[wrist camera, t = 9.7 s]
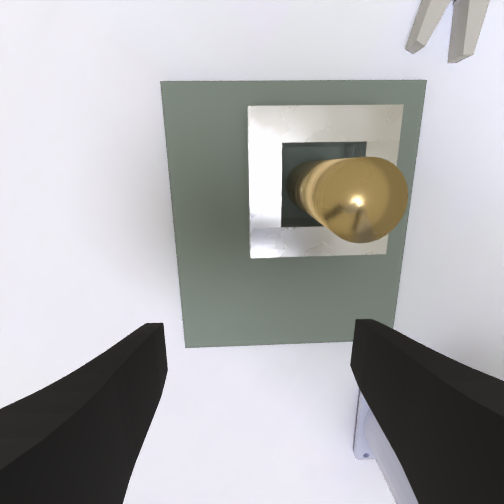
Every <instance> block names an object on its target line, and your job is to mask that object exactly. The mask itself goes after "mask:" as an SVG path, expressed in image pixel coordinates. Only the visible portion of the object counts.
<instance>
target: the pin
mask: <svg viewBox="0 0 504 504" xmlns="http://www.w3.org/2000/svg"><path fill="white" fill-rule="evenodd" d="M286 191H287V194H288V197H289V198H290V200H291V201H292V202H293V203H294V204H295V205H297V206H298V207H299V208H301V209H302V210H303V211H305V212H306V213H307V214H309V215H310V216H311V217H313V218H314V219H315V220H317V221H318V222H319V223H321V224H322V225H323V226H325V227H326V228H327V229H329V230H330V231H331V232H333V233H334V234H335V235H337V236H338V237H340V238H341V239H343V240H346V241H348V242H352V243H369V242H373V241H376V240H378V239H380V238H382V237H384V236H385V235H387V234H388V233H390V232H391V231H392V230H393V229H394V228H395V227H396V226H397V225H398V223H399V222H400V220H401V219H402V217H403V215H404V213H405V210H406V207H407V203H408V187H407V183H406V180H405V177H404V176H403V174H402V172H401V171H400V170H399V169H398V167H396V166H395V165H394V164H393V163H391V162H390V161H388V160H386V159H383V158H379V157H357V158H344V159H331V160H318V161H306V162H302V163H300V164H298V165H297V166H295V167H294V168H293V169H292V170H291V172H290V173H289V175H288V177H287V181H286Z"/></svg>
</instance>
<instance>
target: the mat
mask: <svg viewBox="0 0 504 504" xmlns="http://www.w3.org/2000/svg"><path fill="white" fill-rule="evenodd" d="M160 83H161V94H162V104H163V115H164V126H165V136H166V147H167V158H168V168H169V179H170V189H171V200H172V211H173V221H174V232H175V243H176V253H177V264H178V275H179V285H180V296H181V306H182V317H183V328H184V338H185V348H199V347H224V346H249V345H275V344H300V343H325V342H351V341H353V338H354V329H355V320H356V319H373V320H376V321H378V322H380V323H382V324H384V325H386V326H388V327H390V328H392V329H393V326H394V318H395V311H396V304H397V296H398V289H399V282H400V274H401V267H402V259H403V252H404V245H405V237H406V230H407V223H408V215H409V208H410V201H411V193H412V186H413V178H414V171H415V164H416V156H417V149H418V142H419V134H420V127H421V120H422V112H423V105H424V98H425V90H426V83H427V80H319V81H160ZM399 104H404V107H403V115H402V124H401V132H400V141H399V149H398V157H397V166H396V167H398V169H399V170H400V171H401V172H402V174H403V176H404V177H405V180H406V183H407V187H408V203H407V207H406V210H405V213H404V215H403V217H402V219H401V220H400V222H399V223H398V225H397V226H396V227H395V228H394V229H393V230H392V231H391V232H390V233H388V242H387V250H386V254H376V255H341V256H305V257H270V258H251V257H250V249H249V222H248V173H247V124H246V117H247V108H248V106H287V105H399ZM344 155H345V147H294V148H282V189H281V218H313V217H311V216H310V215H309V214H307V213H306V212H305V211H303V210H302V209H301V208H299V207H298V206H297V205H295V204H294V203H293V202H292V201H291V200H290V198H289V197H288V194H287V191H286V181H287V177H288V175H289V173H290V172H291V170H292V169H293V168H294V167H295V166H297V165H298V164H300V163H302V162H306V161H318V160H331V159H344Z"/></svg>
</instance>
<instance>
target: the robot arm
mask: <svg viewBox="0 0 504 504" xmlns="http://www.w3.org/2000/svg"><path fill="white" fill-rule="evenodd" d="M350 366H351V368H352V371H353V374H354V376H355V379H356V381H357V384H358V386H359V389H360V396H359V406H358V415H357V424H356V434H355V443H354V456H355V458H356V459H360V460H361V459H376V462H377V464H378V466H379V468H380V470H381V472H382V474H383V476H384V478H385V481H386V483H387V485H388V487H389V489H390V491H391V493H392V495H393V497H394V500H395V502H396V504H504V381H503V380H500V379H497V378H495V377H492V376H490V375H488V374H485V373H483V372H480V371H478V370H475V369H473V368H470V367H468V366H466V365H464V364H461V363H459V362H457V361H455V360H453V359H451V358H449V357H447V356H444V355H442V354H440V353H438V352H436V351H434V350H432V349H430V348H428V347H426V346H424V345H422V344H420V343H418V342H417V341H415V340H413V339H411V338H409V337H407V336H405V335H403V334H401V333H400V332H398V331H396V330H394V329H392V328H390V327H388V326H386V325H384V324H382V323H380V322H378V321H376V320H373V319H356V320H355V329H354V338H353V346H352V355H351V364H350ZM167 371H168V367H167V357H166V346H165V336H164V325H163V323H146V324H144V325H143V326H141V327H140V328H138V329H137V330H135V331H134V332H132V333H131V334H129V335H128V336H127V337H125V338H124V339H122V340H121V341H120V342H118V343H117V344H115V345H114V346H112V347H111V348H109V349H108V350H107V351H105V352H104V353H102V354H101V355H99V356H97V357H96V358H94V359H93V360H91V361H90V362H88V363H86V364H85V365H83V366H82V367H80V368H79V369H77V370H75V371H74V372H72V373H70V374H69V375H67V376H65V377H63V378H62V379H60V380H58V381H56V382H54V383H52V384H50V385H49V386H47V387H45V388H43V389H41V390H39V391H37V392H35V393H33V394H31V395H29V396H27V397H25V398H23V399H20V400H18V401H16V402H14V403H12V404H10V405H8V406H6V407H3V408H1V409H0V504H123V501H124V497H125V494H126V490H127V487H128V483H129V480H130V477H131V474H132V471H133V468H134V465H135V463H136V460H137V457H138V455H139V452H140V450H141V447H142V445H143V442H144V440H145V437H146V434H147V432H148V429H149V427H150V424H151V422H152V419H153V417H154V414H155V411H156V409H157V406H158V404H159V401H160V398H161V395H162V391H163V388H164V384H165V380H166V375H167Z"/></svg>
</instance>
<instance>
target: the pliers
mask: <svg viewBox="0 0 504 504" xmlns="http://www.w3.org/2000/svg"><path fill="white" fill-rule="evenodd" d="M450 1H451V0H422V1H421V4H420V7H419V10H418V13H417V16H416V19H415V22H414V24H413V27H412V30H411V33H410V36H409V39H408V42H407V45H406V47H405V49H406V50H407V51H409V52H410V53H412V54H414V53H416V52H417V51H419V50H420V49H421V48H423V47H424V46H425V45H426V44H427V42H428V40H429V38H430V36H431V35H432V33H433V31H434V29H435V28H436V26H437V24H438V22H439V20H440V19H441V17H442V15H443V13H444V12H445V10H446V8H447V6H448V4H449V3H450ZM489 1H490V0H456V1H455V2H454V4H453V6H454V8H453V17H452V26H451V35H450V45H449V54H448V63H457V62H459V61H461V60H463V59H465V58H467V57H469V56H471V55H473V54H474V51H475V47H476V44H477V41H478V37H479V34H480V31H481V28H482V24H483V21H484V18H485V14H486V11H487V8H488V5H489Z"/></svg>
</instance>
